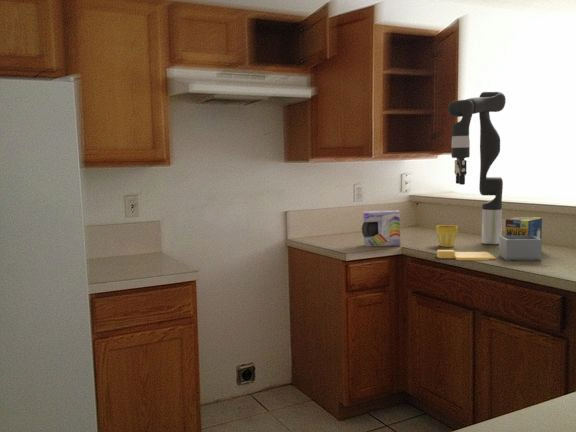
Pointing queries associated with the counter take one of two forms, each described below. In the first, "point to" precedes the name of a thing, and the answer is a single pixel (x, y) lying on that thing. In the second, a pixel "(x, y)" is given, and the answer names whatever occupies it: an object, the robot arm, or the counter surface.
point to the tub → (520, 247)
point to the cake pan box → (381, 228)
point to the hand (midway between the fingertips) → (460, 184)
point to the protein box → (524, 226)
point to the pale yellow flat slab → (464, 255)
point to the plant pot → (446, 235)
